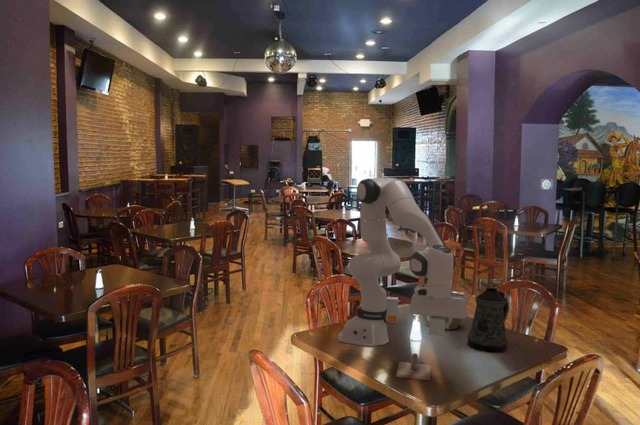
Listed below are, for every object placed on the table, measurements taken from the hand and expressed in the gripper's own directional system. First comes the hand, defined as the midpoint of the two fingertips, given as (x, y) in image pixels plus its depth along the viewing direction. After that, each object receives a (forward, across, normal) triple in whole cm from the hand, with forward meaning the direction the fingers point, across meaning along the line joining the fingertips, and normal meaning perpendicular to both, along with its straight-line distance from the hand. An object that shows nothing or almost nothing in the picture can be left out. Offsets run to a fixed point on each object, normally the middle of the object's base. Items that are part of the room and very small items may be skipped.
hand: (436, 327), depth 192 cm
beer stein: (+19, -22, -41) cm, 50 cm away
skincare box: (+20, +22, -62) cm, 69 cm away
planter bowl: (+19, -5, -63) cm, 66 cm away
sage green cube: (+2, 0, 0) cm, 2 cm away
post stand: (+18, +7, -1) cm, 20 cm away
